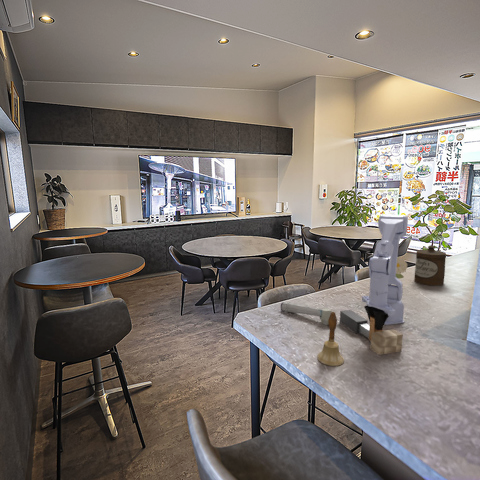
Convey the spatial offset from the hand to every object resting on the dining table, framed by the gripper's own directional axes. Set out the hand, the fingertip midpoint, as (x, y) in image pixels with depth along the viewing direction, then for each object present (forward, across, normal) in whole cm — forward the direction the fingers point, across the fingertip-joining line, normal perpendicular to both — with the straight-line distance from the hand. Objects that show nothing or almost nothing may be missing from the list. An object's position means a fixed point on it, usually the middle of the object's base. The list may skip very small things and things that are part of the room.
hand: (376, 327), depth 106 cm
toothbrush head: (+6, -27, -13) cm, 31 cm away
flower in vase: (+6, -25, +26) cm, 36 cm away
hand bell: (+6, +5, -21) cm, 22 cm away
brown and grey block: (+6, -3, 0) cm, 6 cm away
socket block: (+6, +5, 0) cm, 8 cm away
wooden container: (+6, -54, +79) cm, 96 cm away
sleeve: (+6, -13, 0) cm, 14 cm away
